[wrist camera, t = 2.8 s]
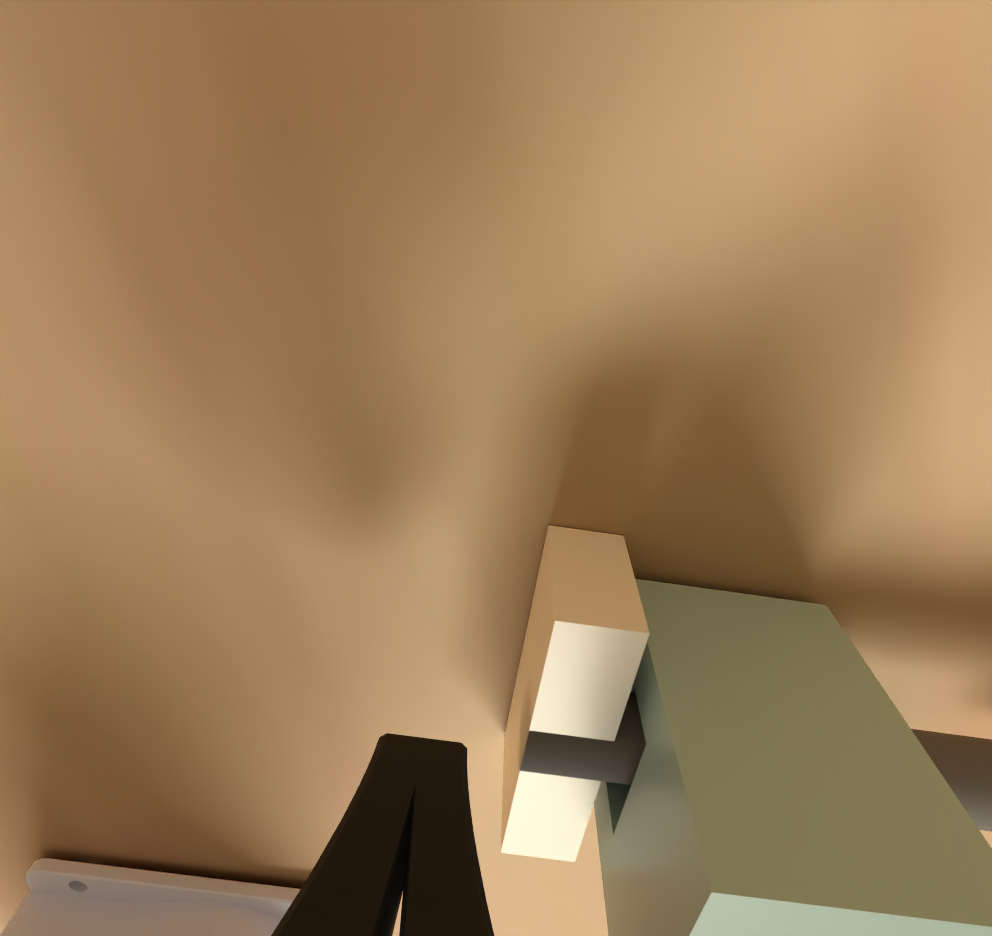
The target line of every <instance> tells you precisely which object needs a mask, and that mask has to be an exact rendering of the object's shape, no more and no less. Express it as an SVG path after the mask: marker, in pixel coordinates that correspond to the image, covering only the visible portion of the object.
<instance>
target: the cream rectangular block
mask: <svg viewBox="0 0 992 936" xmlns="http://www.w3.org/2000/svg"><path fill="white" fill-rule="evenodd" d="M649 634H650V633H649V630H648V626H647V622H646V618H645V614H644V611H643V607H642V603H641V599H640V596H639V592H638V588H637V584H636V581H635V577H634V573H633V569H632V566H631V562H630V558H629V554H628V550H627V547H626V543H625V539H624V536H622V535H615V534H608V533H601V532H593V531H586V530H579V529H572V528H565V527H558V526H550V525H548V529H547V534H546V539H545V544H544V549H543V553H542V558H541V563H540V568H539V572H538V577H537V582H536V587H535V592H534V596H533V601H532V606H531V611H530V616H529V620H528V625H527V630H526V635H525V639H524V644H523V649H522V654H521V659H520V663H519V668H518V673H517V678H516V682H515V687H514V692H513V697H512V702H511V706H510V711H509V716H508V721H507V726H506V730H505V735H504V764H503V796H502V827H501V853H507V854H515V855H523V856H531V857H540V858H548V859H556V860H564V861H572V862H575V860H576V857H577V854H578V851H579V848H580V845H581V841H582V838H583V835H584V832H585V829H586V826H587V823H588V820H589V817H590V814H591V811H592V808H593V805H594V802H595V799H596V796H597V793H598V790H599V786H600V783H601V781H596V780H588V779H580V778H572V777H565V776H557V775H549V774H541V773H533V772H526V771H520V768H521V766H520V764H522V762H521V761H522V759H523V757H522V755H524V754H523V753H524V751H525V747H526V746H525V745H526V741H527V738H528V734H529V733H528V732H529V730H530V731H537V732H545V733H553V734H560V735H568V736H576V737H583V738H591V739H599V740H606V741H615V738H616V735H617V732H618V728H619V725H620V722H621V719H622V716H623V713H624V710H625V707H626V704H627V701H628V698H629V695H630V692H631V689H632V686H633V683H634V680H635V677H636V673H637V670H638V667H639V664H640V661H641V658H642V655H643V652H644V649H645V646H646V643H647V640H648V637H649Z"/></svg>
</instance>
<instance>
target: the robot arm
mask: <svg viewBox="0 0 992 936" xmlns="http://www.w3.org/2000/svg"><path fill="white" fill-rule="evenodd" d="M25 879H26V882H27V885H28V888H29V891H30V892H29V893H28V894H27V896H26V897H25V899H24V900H23V902H22V903H21V905H20V906H19V908H18V909H17V911H16V912H15V914H14V915H13V917H12V918H11V920H10V921H9V923H8V924H7V926H6V927H5V929H4V930H3V932H2V933H1V935H0V936H392V934H393V930H394V926H395V921H396V917H397V913H398V909H399V905H400V900H401V896H402V892H403V899H402V911H401V923H400V935H399V936H494V933H493V928H492V924H491V920H490V915H489V911H488V906H487V902H486V897H485V892H484V887H483V882H482V877H481V871H480V866H479V861H478V856H477V850H476V844H475V838H474V832H473V825H472V817H471V810H470V801H469V791H468V778H467V748H466V747H465V746H464V745H463V744H462V743H459V742H451V741H443V740H435V739H427V738H419V737H412V736H404V735H396V734H388V733H387V734H385V735H383V736H381V737H379V740H378V743H377V746H376V748H375V751H374V754H373V756H372V758H371V761H370V763H369V765H368V768H367V770H366V772H365V774H364V777H363V779H362V781H361V783H360V785H359V787H358V789H357V791H356V793H355V795H354V797H353V799H352V801H351V803H350V805H349V806H348V808H347V810H346V812H345V814H344V816H343V818H342V820H341V822H340V823H339V825H338V827H337V829H336V830H335V832H334V834H333V836H332V837H331V839H330V841H329V843H328V844H327V846H326V848H325V850H324V851H323V853H322V855H321V856H320V858H319V860H318V862H317V863H316V865H315V867H314V869H313V870H312V872H311V874H310V875H309V877H308V878H307V880H306V882H305V883H304V885H303V886H302V888H301V889H297V888H289V887H281V886H273V885H264V884H256V883H248V882H240V881H232V880H223V879H215V878H207V877H199V876H191V875H182V874H174V873H166V872H158V871H149V870H141V869H133V868H125V867H117V866H108V865H100V864H92V863H84V862H76V861H67V860H59V859H51V858H42V859H39V860H36V861H35V862H34V863H33V864H32V866H31V867H30V868H29V870H28V871H27V873H26V874H25Z"/></svg>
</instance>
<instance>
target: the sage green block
mask: <svg viewBox="0 0 992 936" xmlns="http://www.w3.org/2000/svg"><path fill="white" fill-rule="evenodd" d="M635 581H636V584H637V588H638V592H639V596H640V599H641V603H642V607H643V611H644V614H645V618H646V622H647V626H648V630H649V633H650V634H649V637H648V640H647V643H646V646H645V649H644V652H643V655H642V658H641V661H640V664H639V667H638V670H637V673H636V677H635V680H634V683H633V686H632V689H631V692H635V693H636V698H637V702H638V707H639V712H640V717H641V721H642V726H643V731H644V736H645V741H646V746H645V749H644V752H643V755H642V757H641V760H640V763H639V766H638V768H637V771H636V774H635V777H634V779H633V782H632V785H627V784H619V783H611V782H603V781H601V783H600V786H599V790H598V793H597V796H596V799H595V802H594V807H595V816H596V825H597V834H598V843H599V852H600V862H601V871H602V880H603V889H604V898H605V907H606V916H607V925H608V934H609V936H992V848H991V847H990V845H989V844H988V842H987V841H986V839H985V838H984V837H983V835H982V834H981V832H980V831H979V829H978V828H977V826H976V825H975V823H974V822H973V820H972V819H971V817H970V816H969V814H968V813H967V811H966V810H965V808H964V807H963V806H962V804H961V803H960V801H959V800H958V798H957V797H956V795H955V794H954V792H953V791H952V789H951V788H950V786H949V785H948V783H947V782H946V780H945V779H944V777H943V776H942V775H941V773H940V772H939V770H938V769H937V767H936V766H935V764H934V763H933V761H932V760H931V758H930V757H929V755H928V754H927V752H926V751H925V749H924V748H923V746H922V745H921V744H920V742H919V741H918V739H917V738H916V736H915V735H914V733H913V732H912V730H911V729H910V727H909V726H908V724H907V723H906V721H905V720H904V718H903V717H902V715H901V714H900V713H899V711H898V710H897V708H896V707H895V705H894V704H893V702H892V701H891V699H890V698H889V696H888V695H887V693H886V692H885V690H884V689H883V687H882V686H881V685H880V683H879V682H878V680H877V679H876V677H875V676H874V674H873V673H872V671H871V670H870V668H869V667H868V665H867V664H866V662H865V661H864V659H863V658H862V656H861V655H860V654H859V652H858V651H857V649H856V648H855V646H854V645H853V643H852V642H851V640H850V639H849V637H848V636H847V634H846V633H845V631H844V630H843V628H842V627H841V625H840V624H839V623H838V621H837V620H836V618H835V617H834V615H833V614H832V612H831V611H830V609H829V608H828V606H827V605H823V604H816V603H808V602H801V601H794V600H786V599H779V598H772V597H765V596H757V595H750V594H743V593H736V592H728V591H721V590H714V589H707V588H699V587H692V586H685V585H678V584H670V583H663V582H656V581H649V580H641V579H635Z"/></svg>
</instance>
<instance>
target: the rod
mask: <svg viewBox="0 0 992 936" xmlns="http://www.w3.org/2000/svg"><path fill="white" fill-rule="evenodd" d="M911 730H912V732H913V733H914V735H915V736H916V738H917V739H918V741H919V742H920V744H921V745H922V746H923V748H924V749H925V751H926V752H927V754H928V755H929V757H930V758H931V760H932V761H933V763H934V764H935V766H936V767H937V769H938V770H939V772H940V773H941V775H942V776H943V777H944V779H945V780H946V782H947V783H948V785H949V786H950V788H951V789H952V791H953V792H954V794H955V795H956V797H957V798H958V800H959V801H960V803H961V804H962V806H963V807H964V808H965V810H966V811H967V813H968V814H969V816H970V817H971V819H972V820H973V822H974V823H975V825H976V826H977V828H978V829H979V830H985V831H992V740H990V739H983V738H975V737H968V736H960V735H953V734H945V733H938V732H930V731H923V730H915V729H911ZM528 733H529V734H528V738H527V741H526V745H525V746H526V747H525V751H524V753H523V754H524V755H522V757H523V759H522V761H521V762H522V764H520V766H521V768H520V771H526V772H533V773H541V774H549V775H557V776H565V777H572V778H580V779H588V780H596V781H603V782H611V783H619V784H627V785H632V782H633V779H634V777H635V774H636V771H637V768H638V766H639V763H640V760H641V757H642V755H643V752H644V749H645V746H646V741H645V736H644V731H643V726H642V721H641V717H640V712H639V707H638V702H637V698H636V693H635V692H630V695H629V698H628V701H627V704H626V707H625V710H624V713H623V716H622V719H621V722H620V725H619V728H618V732H617V735H616V738H615V741H606V740H599V739H591V738H583V737H576V736H568V735H560V734H553V733H545V732H537V731H530V730H529V732H528Z"/></svg>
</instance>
